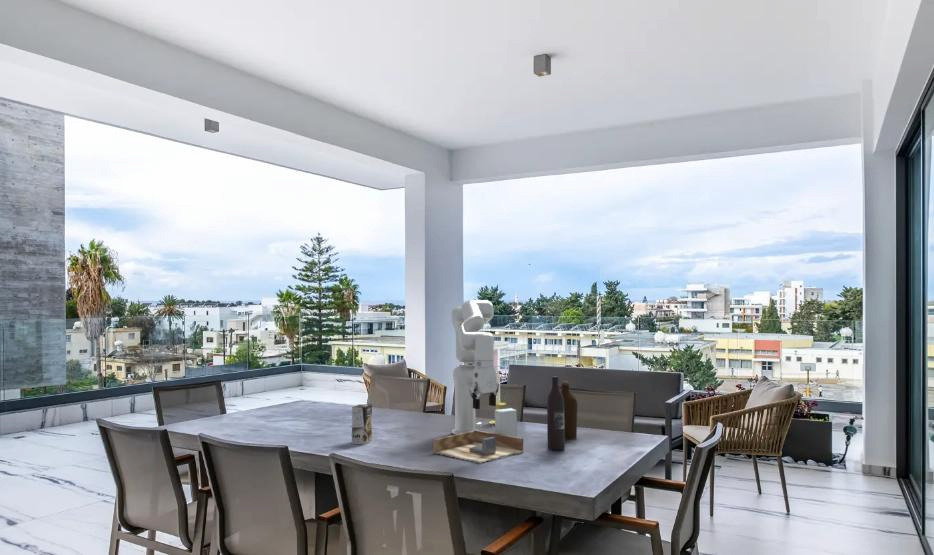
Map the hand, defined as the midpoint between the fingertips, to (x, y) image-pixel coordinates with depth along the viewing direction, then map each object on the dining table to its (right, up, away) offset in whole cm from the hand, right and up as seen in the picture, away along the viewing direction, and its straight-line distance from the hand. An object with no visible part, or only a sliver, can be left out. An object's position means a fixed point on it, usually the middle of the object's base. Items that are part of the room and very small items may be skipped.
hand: (484, 407), depth 254 cm
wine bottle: (+30, -20, +9) cm, 37 cm away
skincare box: (+10, -20, +20) cm, 30 cm away
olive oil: (+38, -21, +33) cm, 54 cm away
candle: (+9, -23, +70) cm, 74 cm away
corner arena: (-2, -19, +4) cm, 20 cm away
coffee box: (-53, -21, +26) cm, 63 cm away
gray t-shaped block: (-1, -18, 0) cm, 18 cm away
